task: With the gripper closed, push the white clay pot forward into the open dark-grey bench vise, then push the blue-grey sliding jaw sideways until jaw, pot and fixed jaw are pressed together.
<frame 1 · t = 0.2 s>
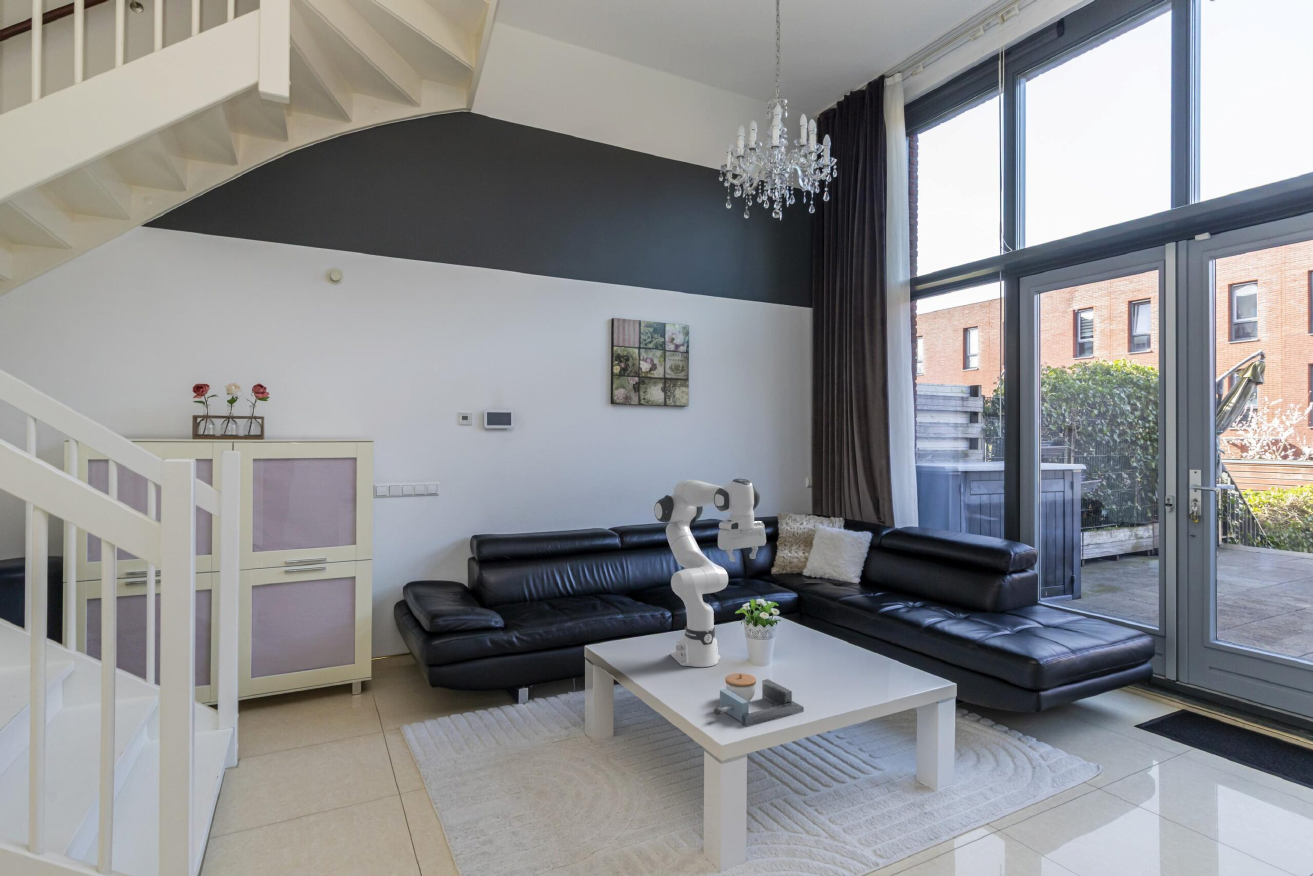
hand: (742, 559, 245), 47 cm above the table, fingers open, 8 cm apart
lidded jar: (740, 701, 232), on the table
vise body: (777, 704, 228), on the table
jaw: (725, 707, 218), point 3 cm above the table, slide at 0.0 cm
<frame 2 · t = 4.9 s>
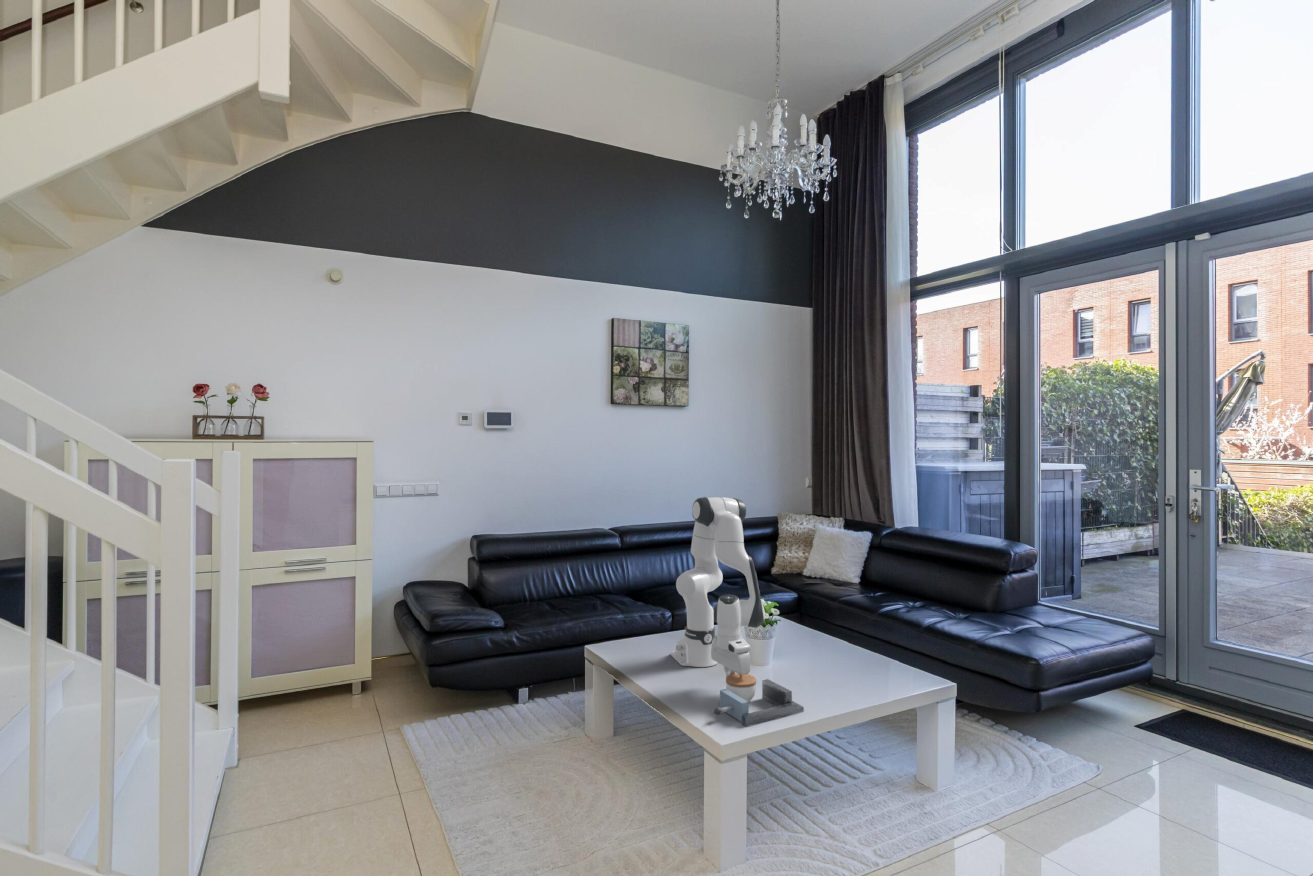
hand: (729, 679, 238), 5 cm above the table, fingers closed
lidded jar: (741, 701, 232), on the table, touching gripper
everything else where it was.
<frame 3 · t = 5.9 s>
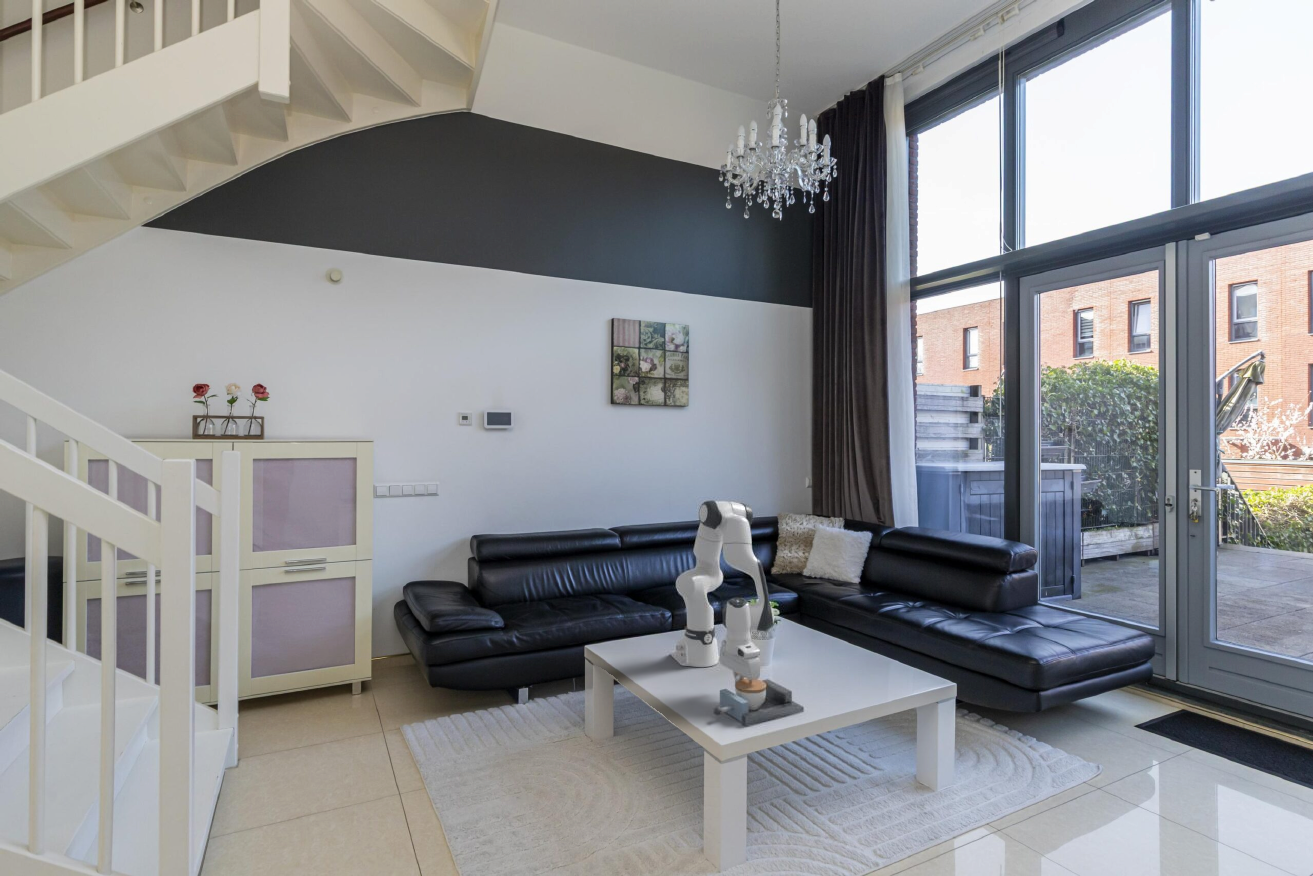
hand: (739, 684, 233), 5 cm above the table, fingers closed
lidded jar: (750, 707, 226), on the table, touching gripper
everything else where it was.
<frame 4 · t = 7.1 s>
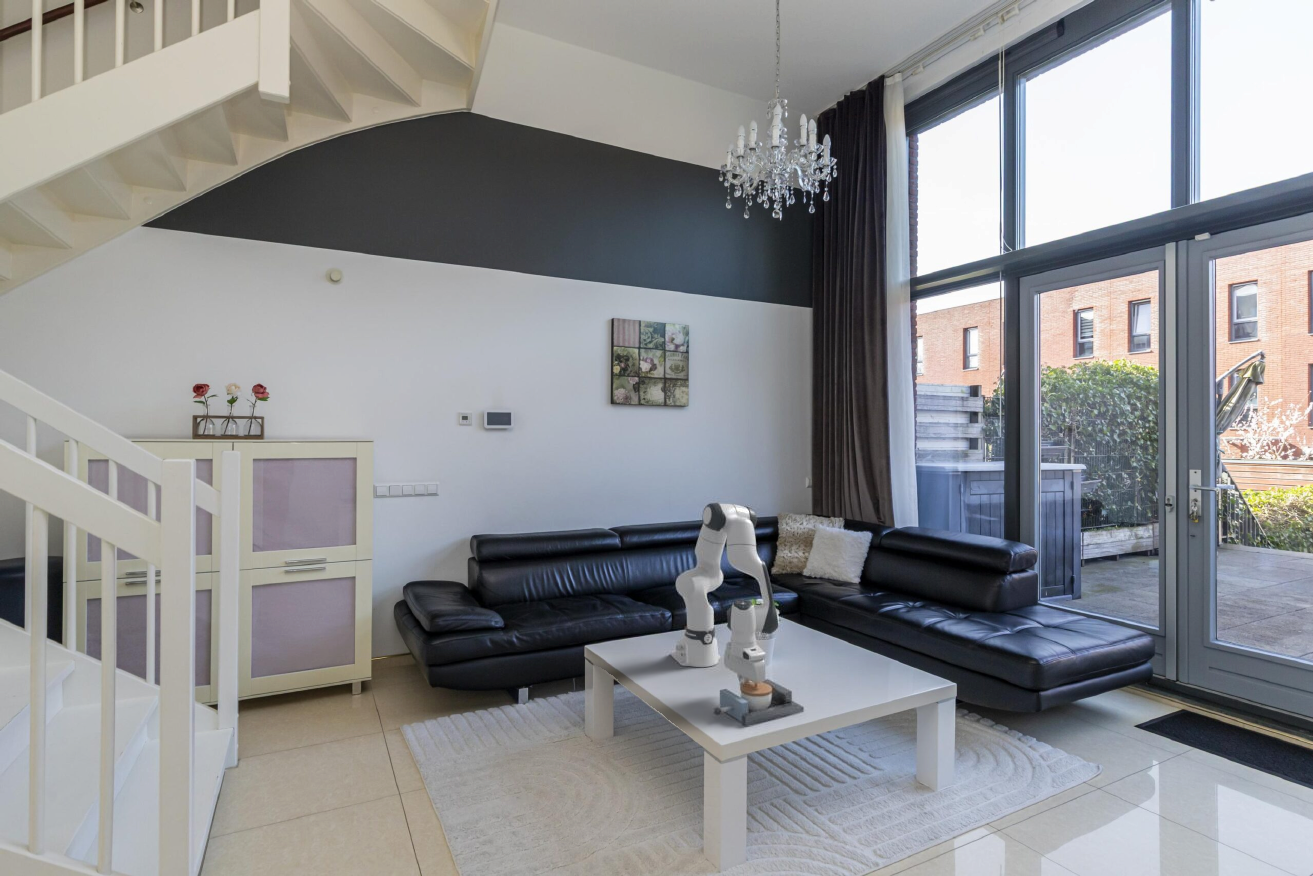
hand: (743, 687, 230), 5 cm above the table, fingers closed
lidded jar: (756, 710, 224), on the table, touching gripper
everything else where it was.
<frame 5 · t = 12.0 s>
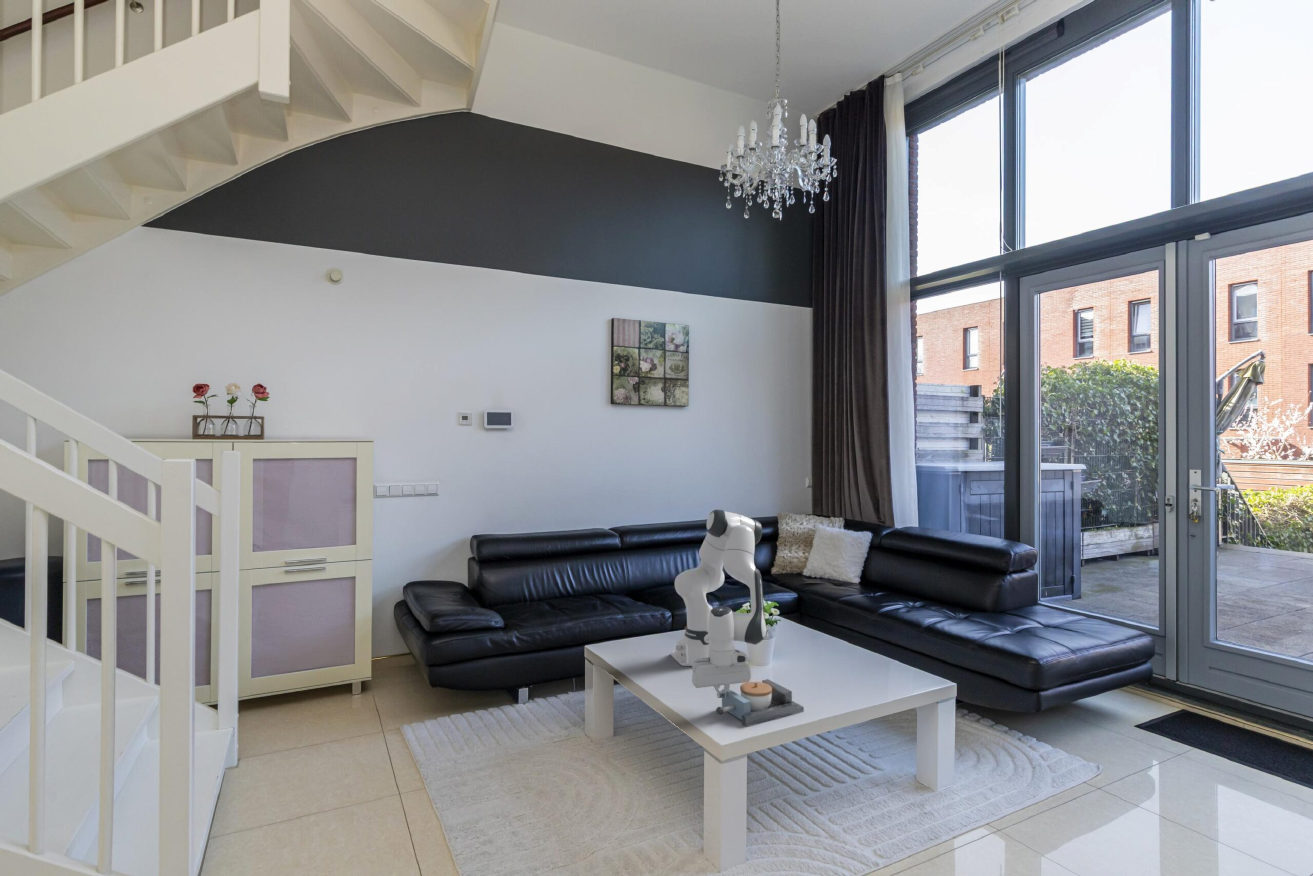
hand: (721, 697, 222), 5 cm above the table, fingers closed
lidded jar: (756, 710, 224), on the table
jaw: (727, 706, 218), point 3 cm above the table, slide at 0.8 cm, touching gripper
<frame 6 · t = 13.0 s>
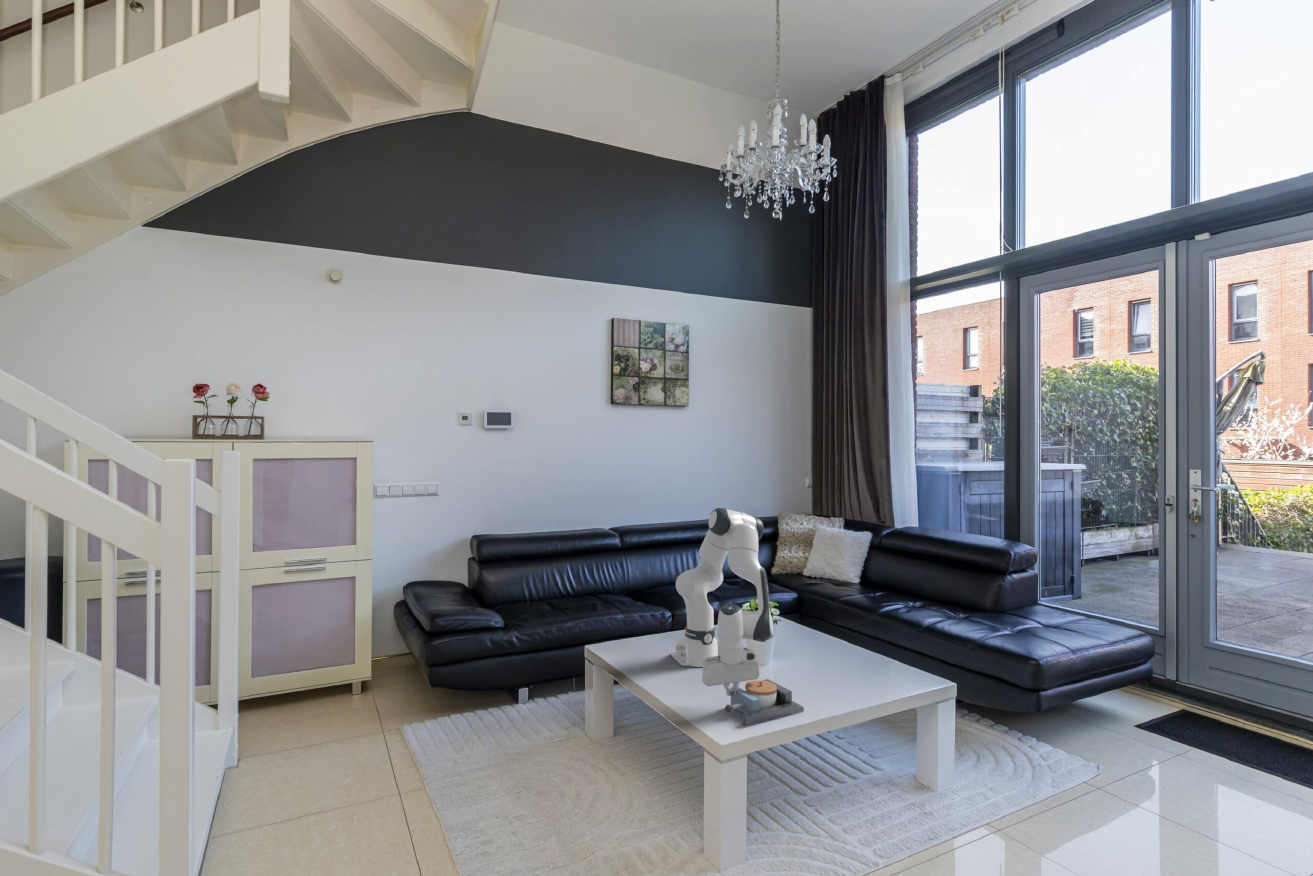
hand: (731, 695, 224), 5 cm above the table, fingers closed
lidded jar: (761, 709, 224), on the table, touching jaw
jaw: (736, 704, 220), point 3 cm above the table, slide at 4.5 cm, touching gripper, lidded jar
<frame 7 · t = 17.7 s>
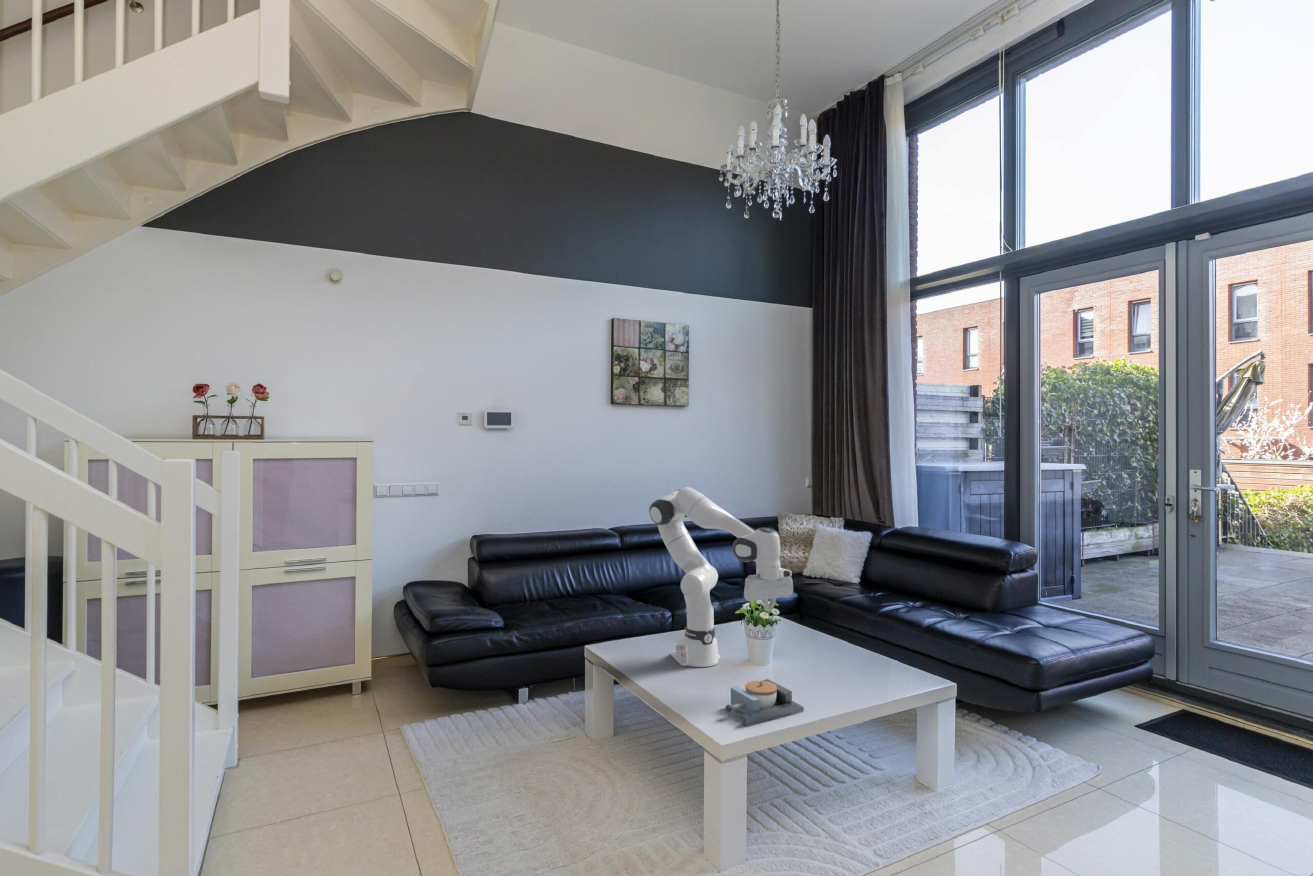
hand: (768, 610, 241), 29 cm above the table, fingers closed
lidded jar: (761, 709, 224), on the table
jaw: (736, 704, 220), point 3 cm above the table, slide at 4.5 cm
at the end: lidded jar inside the target area (0.7 cm from its centre), on the table; jaw slide at 4.5 cm; lidded jar tilted 0° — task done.
